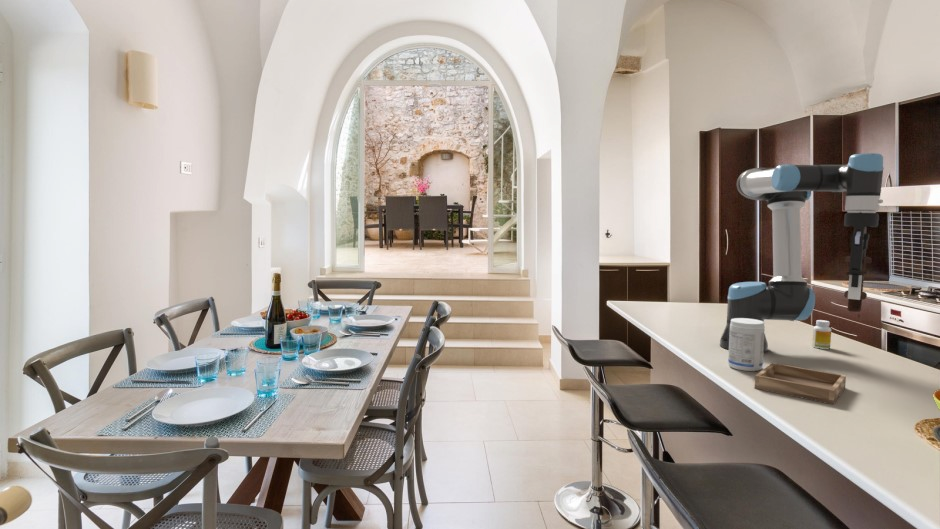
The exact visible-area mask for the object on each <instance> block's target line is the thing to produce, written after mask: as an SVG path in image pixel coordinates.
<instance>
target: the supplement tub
mask: <svg viewBox="0 0 940 529" xmlns="http://www.w3.org/2000/svg"><path fill="white" fill-rule="evenodd" d="M764 333H765V321H764V322H763V321H760V320H756V319H749V318H734V319H731V323H730V333H729V349H728V356H727V357H728V359H727V360H728V362H727V364H728V366H729V367H730V368H732V369H734V370H738V371H744V372H757V371H762V370H763V365H764V352H763V349H764Z"/></svg>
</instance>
